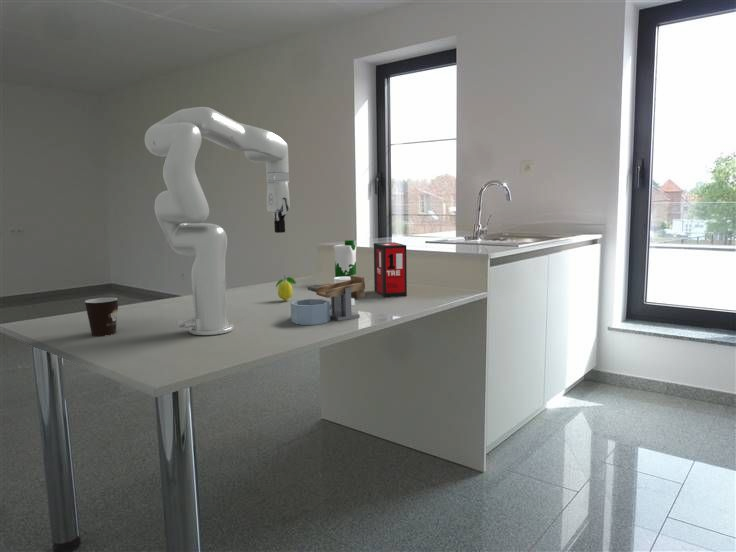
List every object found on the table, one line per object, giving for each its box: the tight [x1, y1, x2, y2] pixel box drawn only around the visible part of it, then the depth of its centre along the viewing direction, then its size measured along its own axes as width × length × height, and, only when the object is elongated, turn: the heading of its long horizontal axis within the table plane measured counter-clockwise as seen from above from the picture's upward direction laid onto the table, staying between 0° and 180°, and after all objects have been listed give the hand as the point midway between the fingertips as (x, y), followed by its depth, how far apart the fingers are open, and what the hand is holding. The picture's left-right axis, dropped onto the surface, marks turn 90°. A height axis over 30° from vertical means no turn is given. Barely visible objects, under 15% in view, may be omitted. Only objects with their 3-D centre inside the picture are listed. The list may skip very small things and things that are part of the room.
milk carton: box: [333, 239, 357, 278], centre depth 249 cm, size 9×9×20 cm
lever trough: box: [306, 275, 366, 300], centre depth 184 cm, size 14×14×7 cm
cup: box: [290, 298, 331, 326], centre depth 176 cm, size 11×11×6 cm
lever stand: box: [330, 288, 360, 322], centre depth 182 cm, size 8×10×10 cm
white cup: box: [333, 276, 356, 307], centre depth 202 cm, size 8×8×10 cm
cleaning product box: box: [373, 242, 408, 298], centre depth 224 cm, size 16×9×20 cm, turn 13°
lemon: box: [275, 275, 297, 302], centre depth 212 cm, size 7×6×10 cm
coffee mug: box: [84, 297, 119, 337], centre depth 165 cm, size 12×9×10 cm
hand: (279, 232), depth 192 cm, fingers closed
